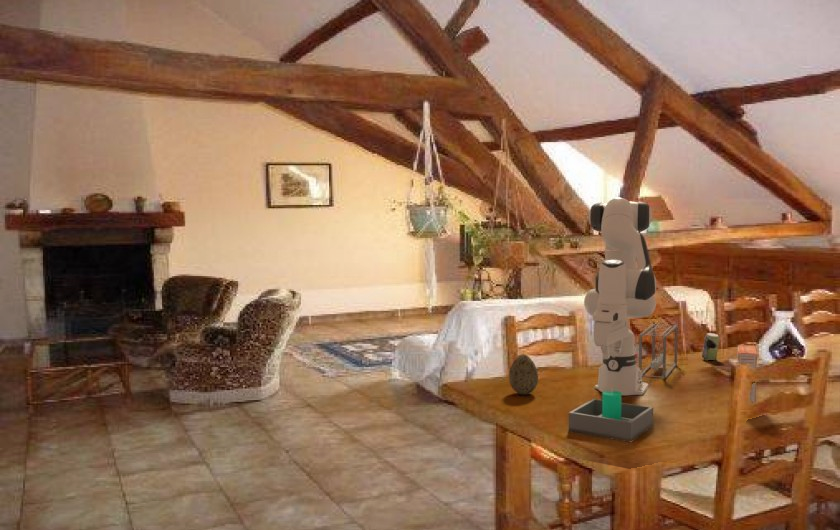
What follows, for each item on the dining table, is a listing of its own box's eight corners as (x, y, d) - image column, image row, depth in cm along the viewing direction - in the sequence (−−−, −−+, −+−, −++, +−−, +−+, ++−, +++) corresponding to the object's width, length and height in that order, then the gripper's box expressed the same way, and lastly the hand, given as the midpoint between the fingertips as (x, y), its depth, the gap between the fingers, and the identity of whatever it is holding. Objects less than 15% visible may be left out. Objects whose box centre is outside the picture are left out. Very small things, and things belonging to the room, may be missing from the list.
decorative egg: (503, 394, 287) (502, 354, 286) (520, 389, 295) (520, 350, 293) (526, 399, 279) (526, 358, 278) (543, 393, 287) (544, 354, 286)
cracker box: (735, 403, 271) (737, 344, 270) (754, 404, 269) (756, 345, 267) (736, 413, 258) (738, 352, 257) (756, 415, 256) (757, 353, 254)
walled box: (593, 416, 257) (593, 398, 257) (653, 425, 246) (653, 407, 245) (568, 431, 241) (568, 412, 241) (630, 442, 230) (631, 422, 229)
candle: (623, 424, 245) (624, 387, 243) (618, 429, 239) (618, 391, 238) (605, 421, 248) (605, 384, 246) (599, 426, 242) (599, 389, 241)
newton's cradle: (665, 380, 306) (665, 336, 305) (638, 377, 311) (638, 334, 310) (677, 365, 333) (677, 324, 332) (652, 363, 338) (652, 323, 336)
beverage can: (706, 358, 347) (706, 331, 346) (721, 360, 341) (722, 333, 340) (698, 360, 343) (699, 333, 342) (714, 362, 337) (715, 335, 336)
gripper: (615, 307, 251) (614, 348, 252) (590, 315, 234) (589, 360, 235) (634, 308, 247) (633, 351, 248) (610, 317, 230) (609, 363, 232)
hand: (611, 355), depth 242 cm, fingers open, 8 cm apart
